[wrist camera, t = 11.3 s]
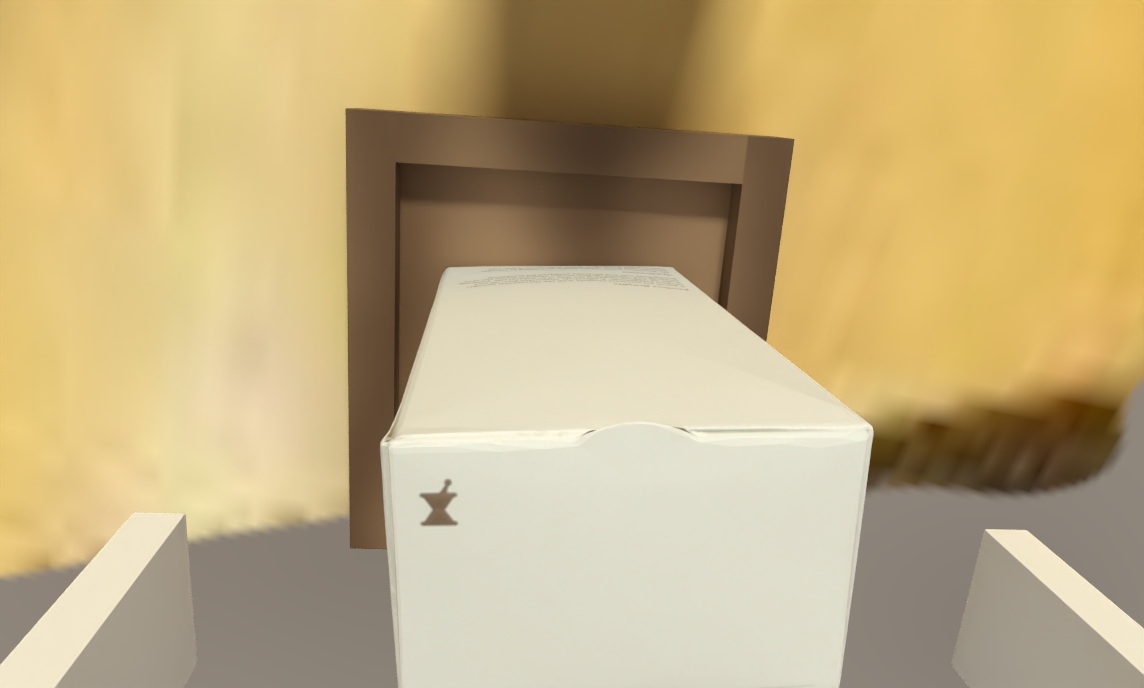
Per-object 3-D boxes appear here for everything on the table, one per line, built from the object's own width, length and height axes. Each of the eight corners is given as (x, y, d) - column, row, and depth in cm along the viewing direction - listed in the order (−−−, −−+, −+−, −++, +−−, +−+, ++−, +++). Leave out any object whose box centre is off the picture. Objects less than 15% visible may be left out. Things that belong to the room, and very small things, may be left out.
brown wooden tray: (361, 518, 31) (350, 548, 29) (359, 108, 27) (345, 108, 25) (721, 527, 32) (736, 556, 30) (772, 136, 28) (794, 139, 26)
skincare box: (445, 434, 29) (374, 780, 14) (441, 251, 27) (354, 428, 12) (676, 432, 30) (841, 762, 15) (687, 254, 28) (889, 426, 13)
